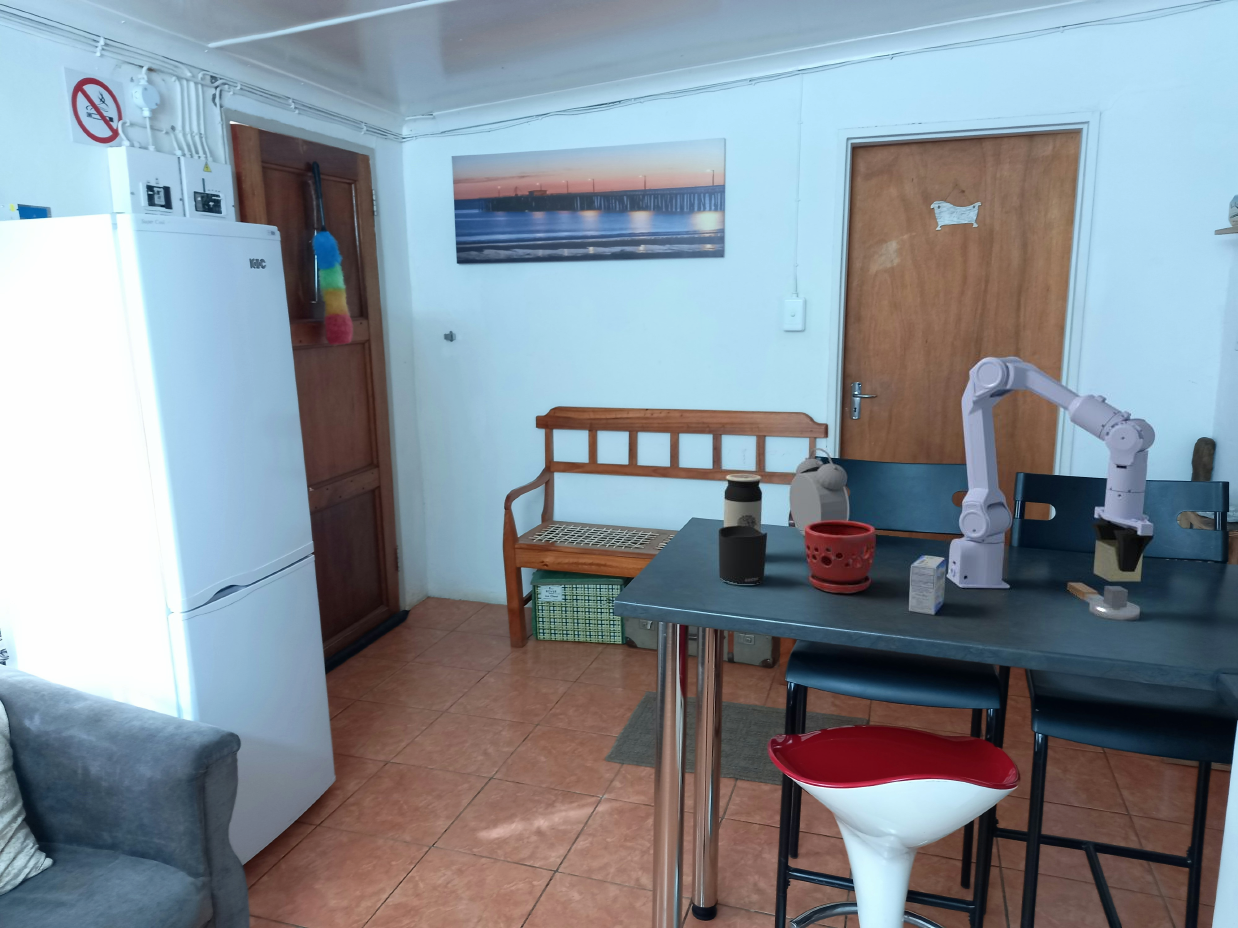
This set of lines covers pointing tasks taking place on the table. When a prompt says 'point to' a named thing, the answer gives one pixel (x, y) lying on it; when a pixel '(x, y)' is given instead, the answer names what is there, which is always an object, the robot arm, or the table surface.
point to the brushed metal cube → (1112, 562)
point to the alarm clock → (818, 493)
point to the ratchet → (1107, 602)
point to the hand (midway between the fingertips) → (1118, 566)
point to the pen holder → (742, 554)
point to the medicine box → (927, 584)
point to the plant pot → (840, 555)
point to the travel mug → (743, 501)
